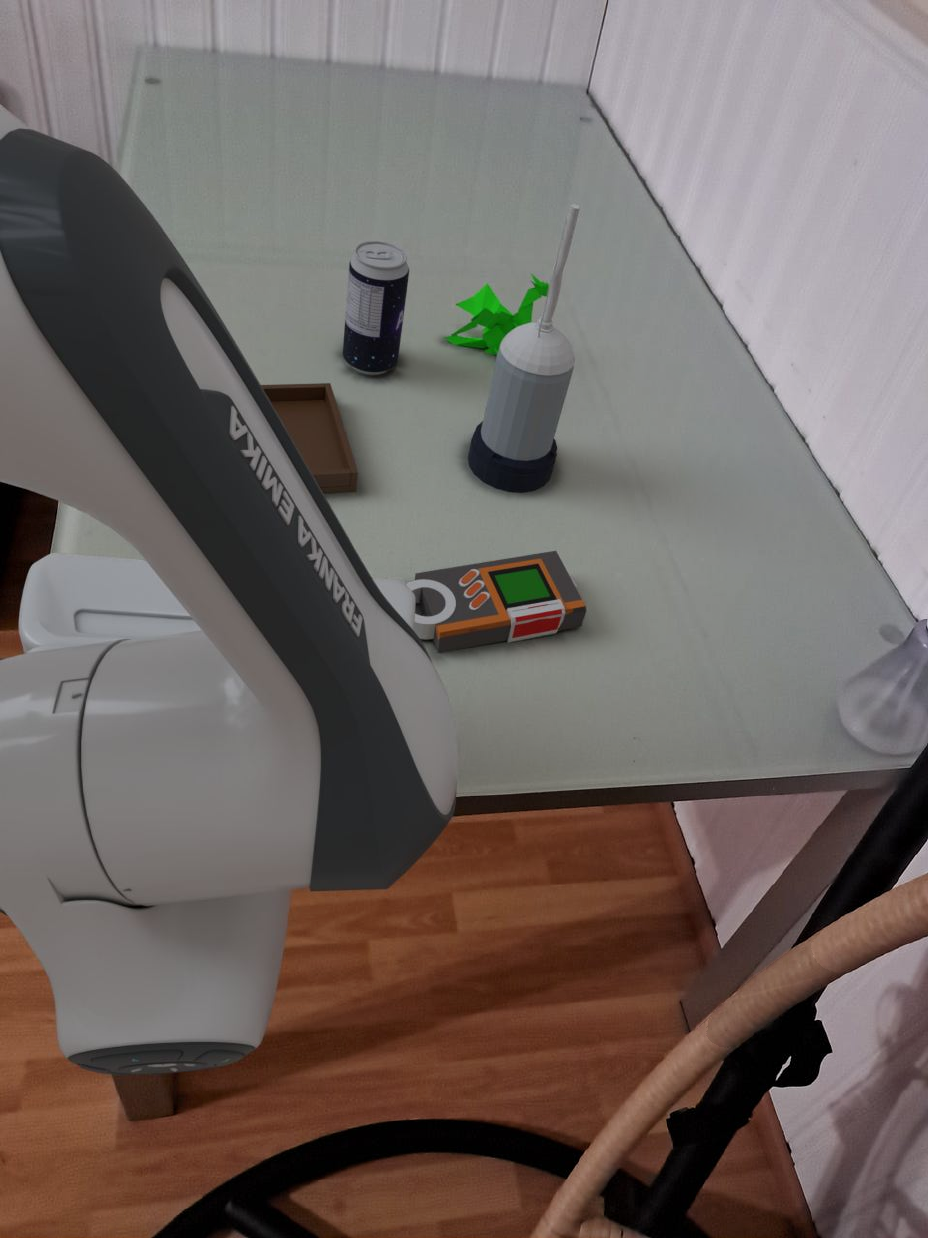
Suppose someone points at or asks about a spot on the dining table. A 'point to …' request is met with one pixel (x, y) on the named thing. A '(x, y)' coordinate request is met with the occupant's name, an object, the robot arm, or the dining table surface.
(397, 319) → the beverage can
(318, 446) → the tray
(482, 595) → the electronic device
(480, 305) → the figurine
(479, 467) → the humidifier
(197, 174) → the dining table surface
